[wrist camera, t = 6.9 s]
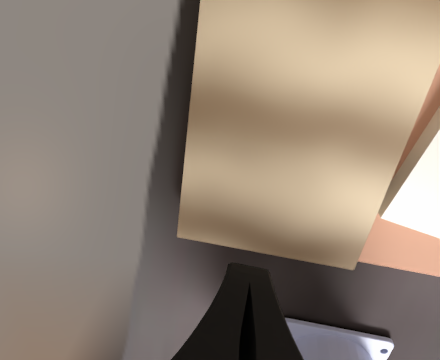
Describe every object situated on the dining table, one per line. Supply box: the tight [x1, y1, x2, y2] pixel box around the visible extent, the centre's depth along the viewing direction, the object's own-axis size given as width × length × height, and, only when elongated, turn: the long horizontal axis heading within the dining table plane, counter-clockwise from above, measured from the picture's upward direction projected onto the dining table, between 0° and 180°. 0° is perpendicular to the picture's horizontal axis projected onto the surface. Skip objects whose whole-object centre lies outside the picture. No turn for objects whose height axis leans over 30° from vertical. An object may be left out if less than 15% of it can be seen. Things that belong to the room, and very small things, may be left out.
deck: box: [177, 0, 440, 270], centre depth 18 cm, size 14×10×2 cm
